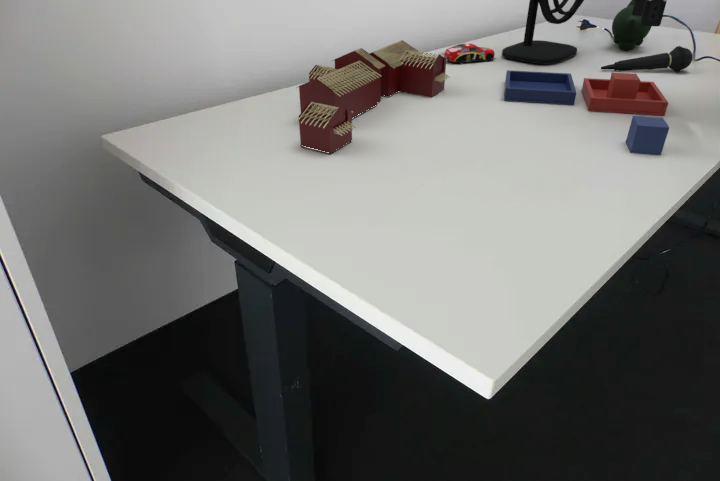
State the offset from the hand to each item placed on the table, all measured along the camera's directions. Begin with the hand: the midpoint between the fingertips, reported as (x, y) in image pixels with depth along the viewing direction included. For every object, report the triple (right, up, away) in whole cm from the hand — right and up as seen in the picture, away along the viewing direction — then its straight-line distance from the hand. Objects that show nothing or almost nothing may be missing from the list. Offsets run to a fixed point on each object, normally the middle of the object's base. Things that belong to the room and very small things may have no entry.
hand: (645, 20), depth 98 cm
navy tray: (-14, -9, +16) cm, 23 cm away
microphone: (+16, 0, +30) cm, 34 cm away
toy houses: (-52, -14, +9) cm, 54 cm away
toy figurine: (+22, +13, +50) cm, 56 cm away
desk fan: (-5, +8, +42) cm, 43 cm away
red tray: (+1, -12, +11) cm, 16 cm away
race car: (-24, +6, +39) cm, 46 cm away
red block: (0, -12, +10) cm, 16 cm away
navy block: (-5, -25, -9) cm, 27 cm away
